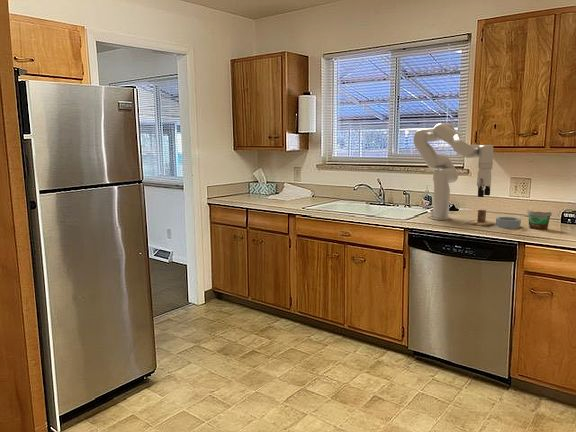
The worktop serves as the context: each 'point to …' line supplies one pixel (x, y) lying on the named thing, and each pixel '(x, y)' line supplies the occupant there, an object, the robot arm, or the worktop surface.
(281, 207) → the worktop surface
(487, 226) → the mat
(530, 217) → the food container
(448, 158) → the robot arm
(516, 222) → the bowl
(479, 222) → the lid
